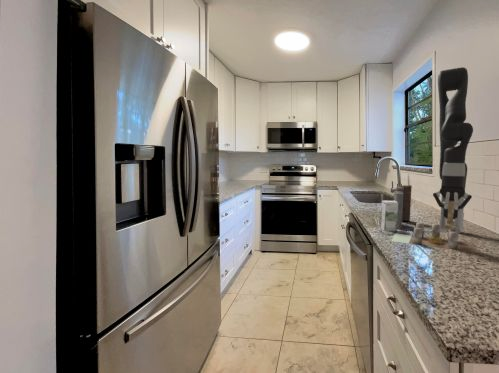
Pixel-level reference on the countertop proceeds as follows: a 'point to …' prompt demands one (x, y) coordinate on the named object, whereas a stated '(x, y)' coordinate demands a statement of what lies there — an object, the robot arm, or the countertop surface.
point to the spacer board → (448, 244)
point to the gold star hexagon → (435, 239)
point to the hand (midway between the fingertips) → (450, 218)
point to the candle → (406, 202)
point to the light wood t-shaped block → (450, 215)
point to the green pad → (401, 238)
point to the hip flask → (399, 205)
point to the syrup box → (389, 215)
